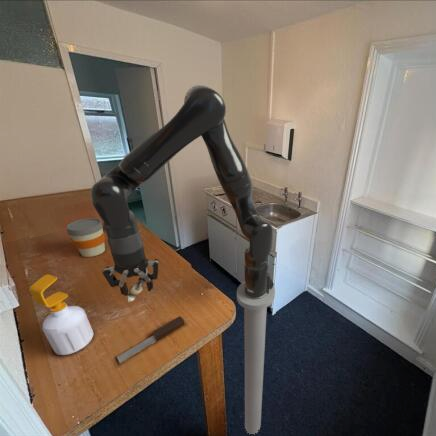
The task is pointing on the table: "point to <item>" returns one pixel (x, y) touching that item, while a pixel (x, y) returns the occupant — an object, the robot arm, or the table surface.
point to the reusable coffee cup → (87, 236)
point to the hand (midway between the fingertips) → (138, 291)
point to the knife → (153, 338)
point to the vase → (135, 289)
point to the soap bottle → (62, 320)
